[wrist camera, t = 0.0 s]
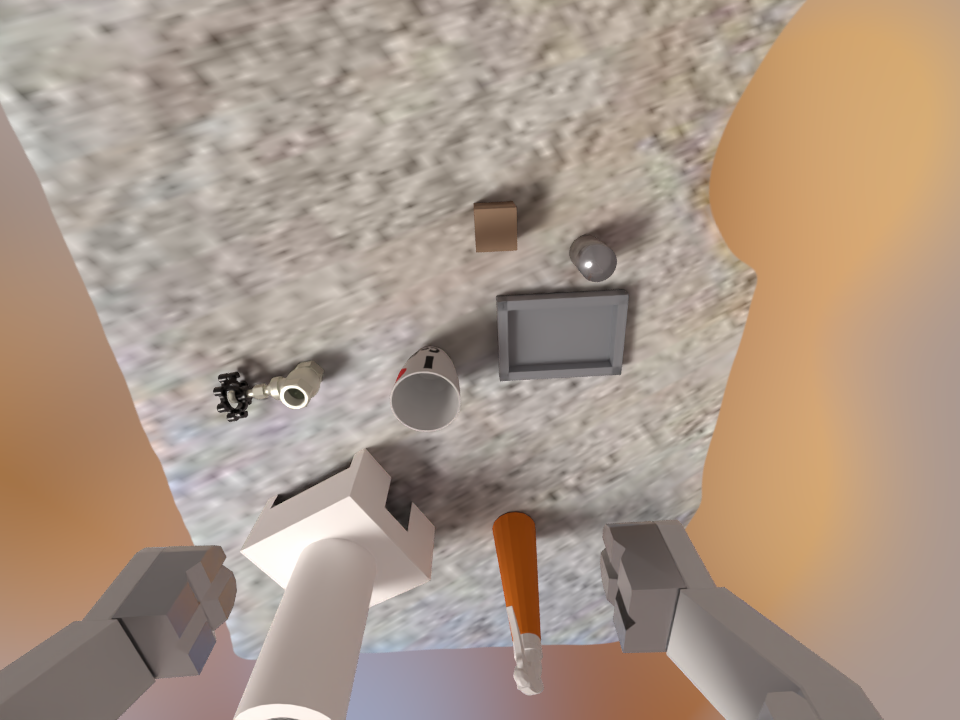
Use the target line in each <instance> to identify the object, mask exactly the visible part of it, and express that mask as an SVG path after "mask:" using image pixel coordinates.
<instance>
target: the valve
mask: <svg viewBox="0 0 960 720" xmlns="http://www.w3.org/2000/svg"><path fill="white" fill-rule="evenodd" d="M323 373H324V370H323V369H322V368H321V367H320V366H319V365H318V364H317V363H315V362H314V361H307V362H302V363H299V364H298V365H297V367H296V368H295V370H293V371H292V372H290V374H289V375H288V376H287V378H284V377H282V376H280V377H274V378H272V379H271V381H270V383H269V384H268V386H267V385H266V384H265V383H264V384H258V385H255V386H254V387H253V389H251V388H250V386H248V383H247V382H246V381H244V382H238V381H237V380H236V379H237V378H238V377H240V374H239V373H238V372H232V373H229V374H228V373H226V374H220V375H219V376H218V380H219V382H220V383H221V387H215V388H214V390H213V393H214V395H215V396H219V397H220V400H221V403H220V404H218V405H217V410H218V412H220V413H222V412H228V414H227V420H228V421H229V422H232V421H237V420H238V419H240V418H246V417H247V416H248V411H245V410H246V409H247V407H248V405H250V404H251V403H252V398H253V397H255V398H256V399H263V398H267V397H268V396H269V395H270V396H272V397H273V398H274V399H276V400H281V401H282V402H283V403H284V404H285V405H286V406H288V407H289V408H291V409H299V408H303V407H307V405H308V403H309V402H310V400H311V398H312V397H314V396H315V395H316V394H317V392H318V390H319V388H320V383H321V381H322V377H323ZM227 378H229V380H228V379H227ZM230 384H231V385H230ZM227 391H229V392H228V399H229V401H230V402H231V403H238V406H237V407H236V408H235V409H234V408H233V407H231V405H230V404H229V402H228V399H227ZM235 415H237V416H235Z"/></svg>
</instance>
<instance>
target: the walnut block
mask: <svg viewBox="0 0 960 720" xmlns="http://www.w3.org/2000/svg"><path fill="white" fill-rule="evenodd" d="M474 221H475V240H476V252H494V251H513V250H517V207H516V206H515V204H514V203H513V201H507V202H489V203H474Z"/></svg>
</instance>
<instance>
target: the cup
mask: <svg viewBox="0 0 960 720" xmlns="http://www.w3.org/2000/svg"><path fill="white" fill-rule="evenodd" d="M390 406H391V409H392V412H393V414H394V415H395V417H396V418H397V419H398V420H399V421H400V422H401V423H402V424H403V425H405V426H407V427H408V428H411V429H413V430H417V431H422V432H431V431H437V430H440V429H443V428H445V427H446V426H448V425H449V424H451V423H452V422H453V421H454V420H455V418H456V417H457V415H458V413H459V411H460V406H461V399H460V387H459V379H458V376H457V373H456V369H455V366H454V364H453V362H452V360H451V359H450V358H449V356H448V355H447V354H446V352H445V351H443V350H442V349H440V348H437V347H432V346H430V347H424V348H422V349H420V350H419V351H417V352H416V353H415V354H413V355H412V356H411V357H410V358H409V359H408V361H407V362H406V364H405V365H404V367H403V368H402V369H401V371H400V373H399V375H398V377H397V380H396V382H395V384H394V387H393V389H392V392H391V395H390Z"/></svg>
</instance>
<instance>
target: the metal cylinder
mask: <svg viewBox="0 0 960 720" xmlns="http://www.w3.org/2000/svg"><path fill="white" fill-rule="evenodd" d="M569 256H570V259H571V261H572V262H573V264H574V265H575V266H576V267H577V269H578V270H579V271H580V272H581V274H582V275H583V276H584V277H585V278H586V279H587V280H589V281H592V282H600V281H603V280H606V279H607V278H609V277H610V276H611V275H612V274H613V272H614V271H615V268H616V265H617V259H616V255H615V253H614V252H613V251H612V250H611V249H610V248H609V247H608V246H606V245H605V244H604V243H603V242H601V241H600V240H599V239H598V238H596V237H595V236H593V235H582V236H580V237H578V238H577V239H576V240H574V242H573V243H572V245H571V247H570V250H569Z"/></svg>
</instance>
